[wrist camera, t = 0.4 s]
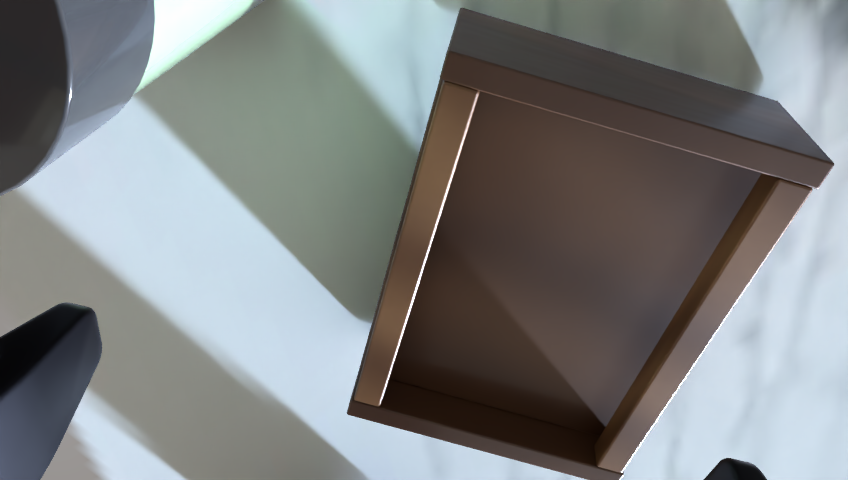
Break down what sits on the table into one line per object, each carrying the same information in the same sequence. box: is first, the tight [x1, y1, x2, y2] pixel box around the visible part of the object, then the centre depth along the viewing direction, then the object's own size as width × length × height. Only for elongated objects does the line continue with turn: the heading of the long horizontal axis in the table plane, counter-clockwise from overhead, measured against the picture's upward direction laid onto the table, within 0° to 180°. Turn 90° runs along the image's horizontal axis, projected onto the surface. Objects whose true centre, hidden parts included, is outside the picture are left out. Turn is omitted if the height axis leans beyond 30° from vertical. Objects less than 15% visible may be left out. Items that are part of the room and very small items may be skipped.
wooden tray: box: [347, 8, 834, 480], centre depth 23 cm, size 14×10×4 cm
